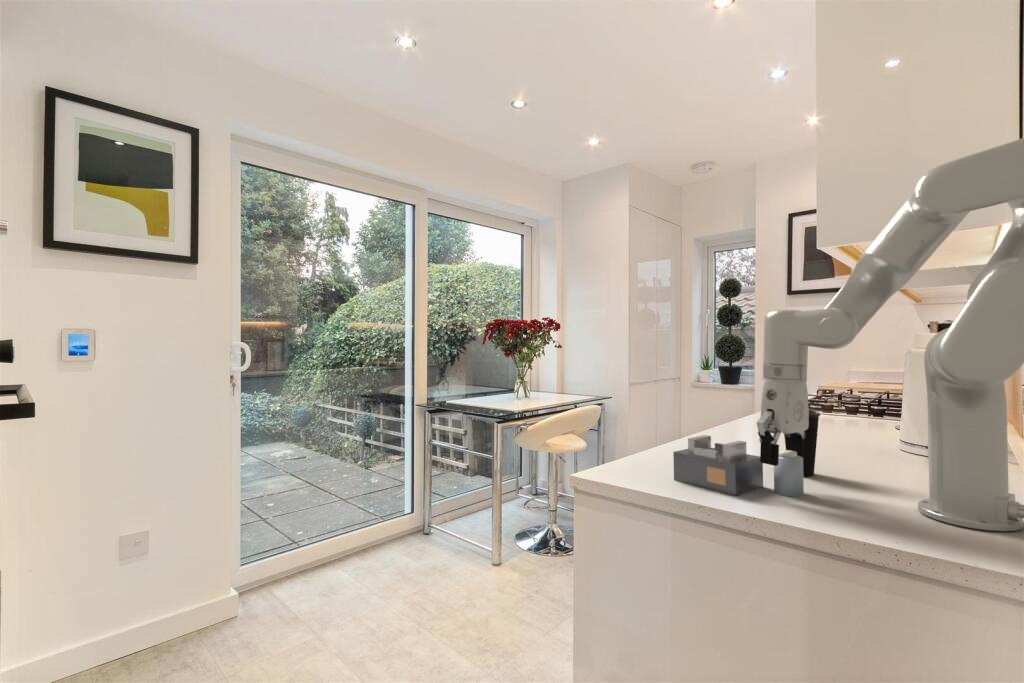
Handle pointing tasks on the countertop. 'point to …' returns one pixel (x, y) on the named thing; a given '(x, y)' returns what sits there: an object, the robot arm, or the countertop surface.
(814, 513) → the countertop surface
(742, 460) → the grey labeled bracket block
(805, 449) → the drinking cup
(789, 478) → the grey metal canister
